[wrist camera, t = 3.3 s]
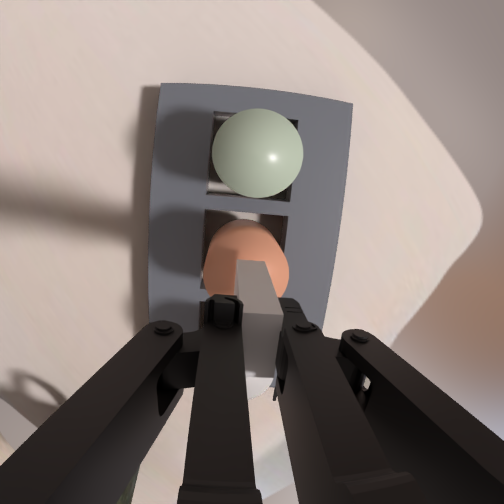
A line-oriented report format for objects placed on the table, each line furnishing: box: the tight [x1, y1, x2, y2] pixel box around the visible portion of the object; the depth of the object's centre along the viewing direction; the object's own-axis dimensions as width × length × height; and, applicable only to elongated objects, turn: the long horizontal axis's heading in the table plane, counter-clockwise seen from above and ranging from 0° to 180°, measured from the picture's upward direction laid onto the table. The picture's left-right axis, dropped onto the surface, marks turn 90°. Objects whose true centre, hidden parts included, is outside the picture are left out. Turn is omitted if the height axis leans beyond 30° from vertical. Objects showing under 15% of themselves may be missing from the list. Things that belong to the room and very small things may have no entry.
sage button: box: [212, 108, 303, 198], centre depth 19 cm, size 5×5×5 cm
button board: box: [148, 83, 353, 387], centre depth 25 cm, size 14×24×2 cm, turn 175°
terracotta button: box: [203, 219, 289, 297], centre depth 21 cm, size 5×5×5 cm
